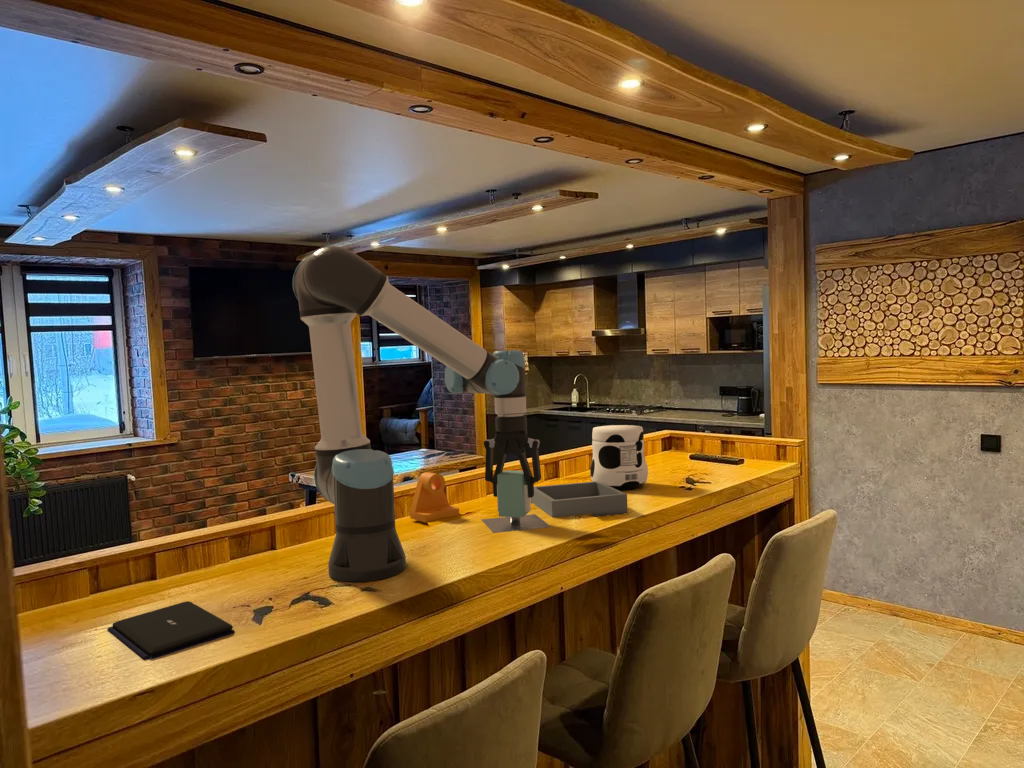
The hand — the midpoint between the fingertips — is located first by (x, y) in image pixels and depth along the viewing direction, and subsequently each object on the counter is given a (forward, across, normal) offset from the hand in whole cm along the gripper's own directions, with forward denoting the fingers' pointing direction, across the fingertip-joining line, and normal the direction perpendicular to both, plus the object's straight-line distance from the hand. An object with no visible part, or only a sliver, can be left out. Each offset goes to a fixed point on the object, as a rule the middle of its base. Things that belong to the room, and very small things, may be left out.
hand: (514, 510), depth 172 cm
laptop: (+5, +37, +71) cm, 81 cm away
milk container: (+4, -18, -52) cm, 56 cm away
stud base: (+4, 0, 0) cm, 4 cm away
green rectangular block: (+1, 0, 0) cm, 1 cm away
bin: (+4, -11, -20) cm, 24 cm away
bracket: (+4, +23, -6) cm, 24 cm away
